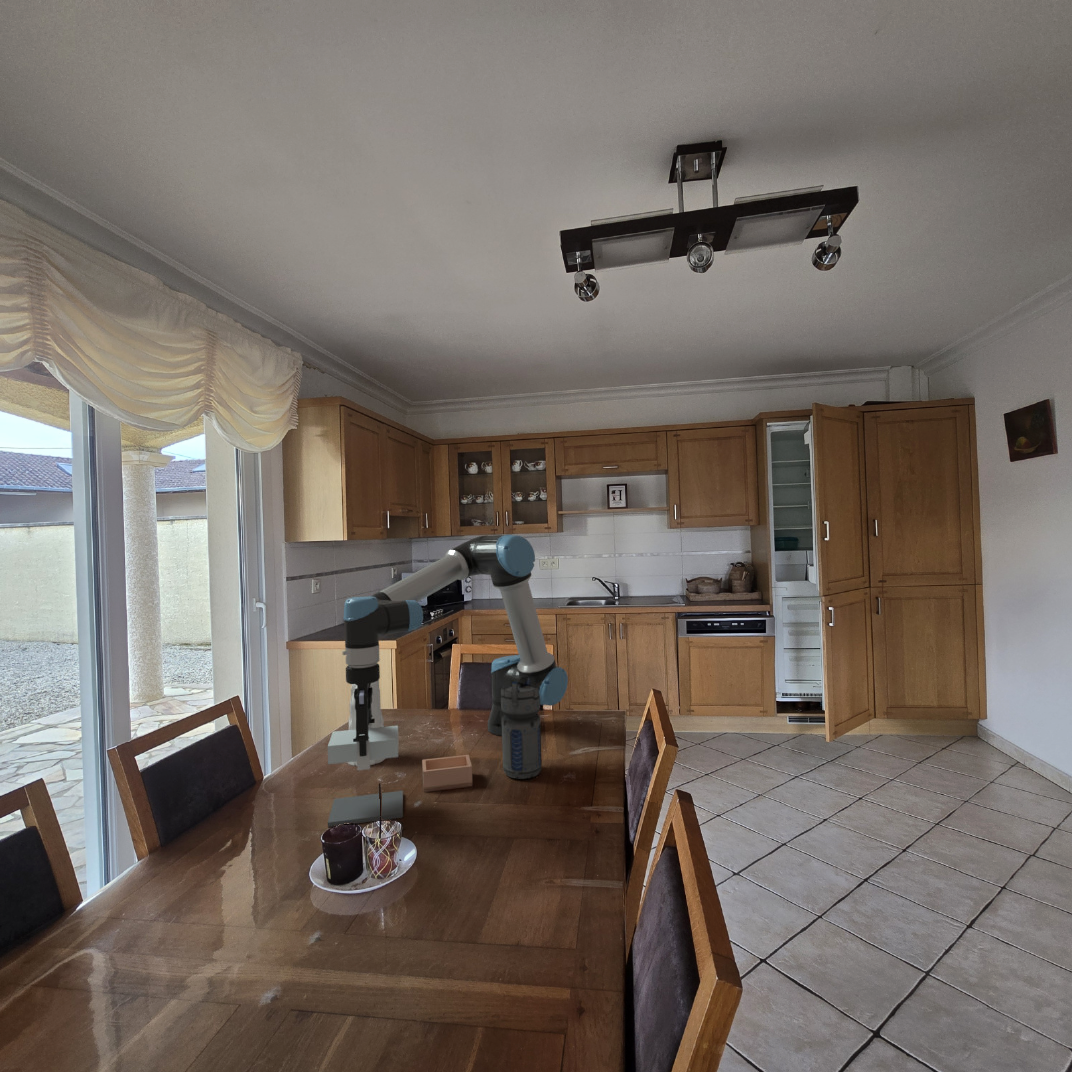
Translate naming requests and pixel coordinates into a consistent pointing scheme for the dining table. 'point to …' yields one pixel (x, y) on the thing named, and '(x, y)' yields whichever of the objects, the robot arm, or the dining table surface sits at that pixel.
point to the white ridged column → (375, 714)
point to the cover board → (379, 740)
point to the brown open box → (447, 773)
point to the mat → (366, 808)
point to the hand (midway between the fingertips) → (365, 760)
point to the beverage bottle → (521, 730)
